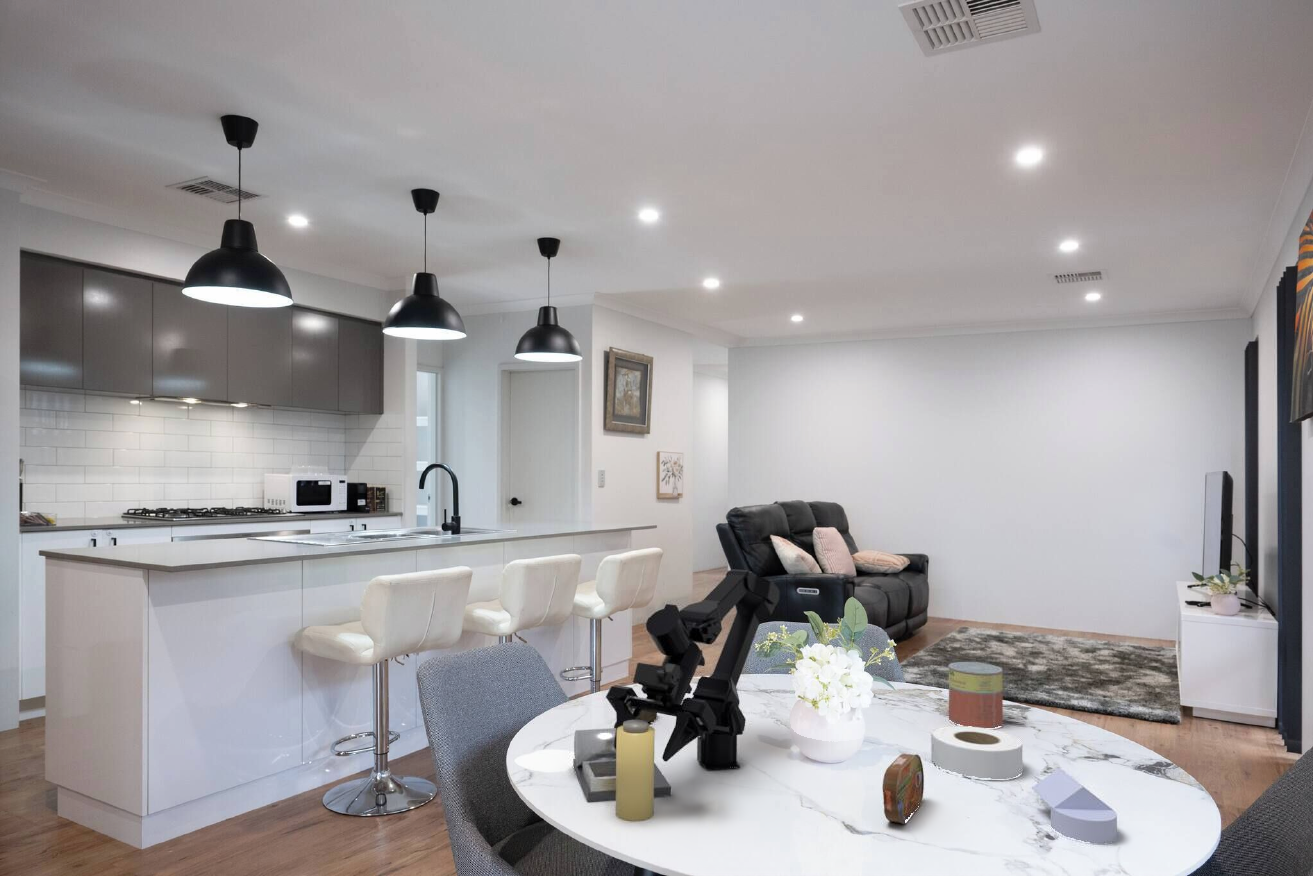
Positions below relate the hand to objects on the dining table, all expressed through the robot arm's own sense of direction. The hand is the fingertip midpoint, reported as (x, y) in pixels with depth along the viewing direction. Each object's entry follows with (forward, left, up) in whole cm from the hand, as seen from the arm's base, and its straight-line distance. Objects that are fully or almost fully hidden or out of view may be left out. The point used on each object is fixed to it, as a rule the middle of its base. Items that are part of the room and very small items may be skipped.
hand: (639, 754), depth 135 cm
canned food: (-83, -34, -9) cm, 90 cm away
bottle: (+1, +1, -9) cm, 9 cm away
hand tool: (-9, -44, -9) cm, 46 cm away
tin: (-41, +9, -9) cm, 43 cm away
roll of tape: (-66, -8, -9) cm, 67 cm away
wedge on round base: (-65, +19, -9) cm, 69 cm away
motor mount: (0, -14, -9) cm, 16 cm away
